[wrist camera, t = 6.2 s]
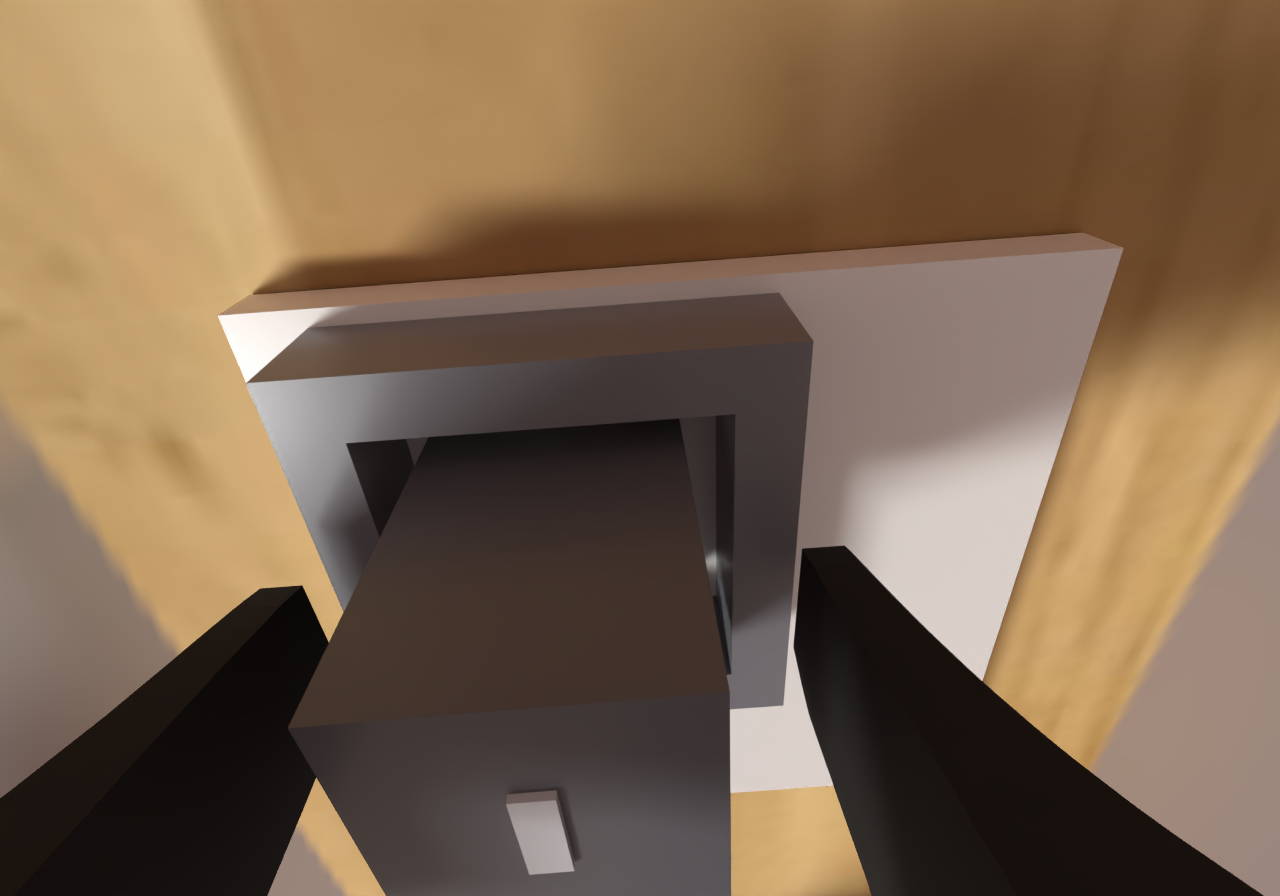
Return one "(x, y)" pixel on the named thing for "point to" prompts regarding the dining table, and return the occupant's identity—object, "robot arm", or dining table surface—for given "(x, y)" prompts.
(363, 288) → the outlet plate
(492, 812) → the block
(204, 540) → the dining table surface
